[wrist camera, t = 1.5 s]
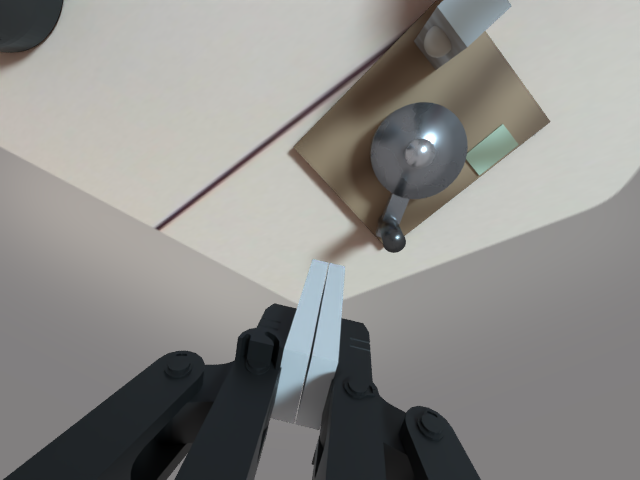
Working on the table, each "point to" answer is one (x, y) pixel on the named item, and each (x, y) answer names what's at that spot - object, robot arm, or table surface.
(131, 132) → the table surface
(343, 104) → the board
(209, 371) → the robot arm
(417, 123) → the silver round handled piece
